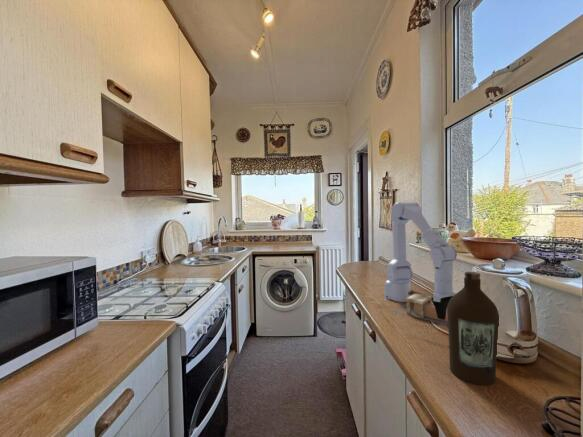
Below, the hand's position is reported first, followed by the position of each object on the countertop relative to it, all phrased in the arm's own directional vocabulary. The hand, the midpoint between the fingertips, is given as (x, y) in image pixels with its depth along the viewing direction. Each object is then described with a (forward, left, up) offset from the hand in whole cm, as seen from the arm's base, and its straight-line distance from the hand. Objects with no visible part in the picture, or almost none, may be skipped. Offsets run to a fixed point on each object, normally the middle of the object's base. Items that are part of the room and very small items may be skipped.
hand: (443, 316), depth 99 cm
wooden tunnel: (-8, 0, -1) cm, 9 cm away
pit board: (-6, 0, -2) cm, 6 cm away
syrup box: (-27, +29, -2) cm, 40 cm away
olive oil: (+15, -29, -2) cm, 33 cm away
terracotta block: (-4, 0, -1) cm, 4 cm away
